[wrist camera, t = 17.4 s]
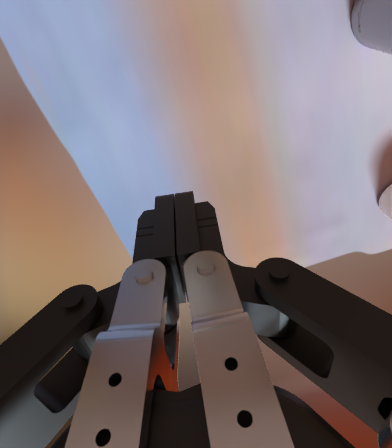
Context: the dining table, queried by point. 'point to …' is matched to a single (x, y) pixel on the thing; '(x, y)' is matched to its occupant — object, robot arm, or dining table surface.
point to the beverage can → (386, 202)
